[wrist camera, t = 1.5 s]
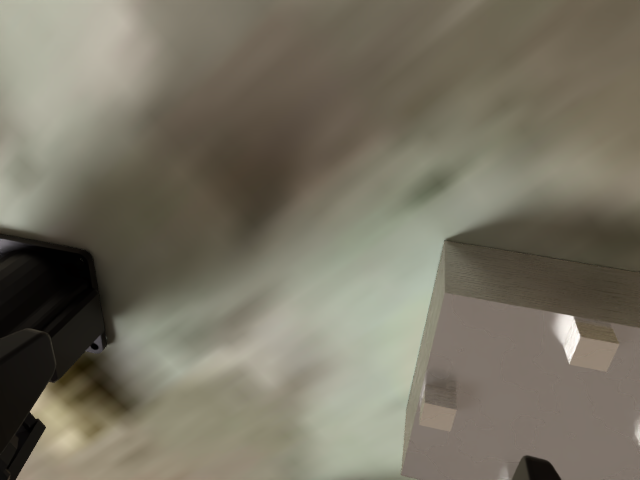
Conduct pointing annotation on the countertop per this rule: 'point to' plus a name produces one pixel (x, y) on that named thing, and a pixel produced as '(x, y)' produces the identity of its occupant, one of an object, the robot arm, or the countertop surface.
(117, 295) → the countertop surface
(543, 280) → the studded square plate
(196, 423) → the countertop surface
